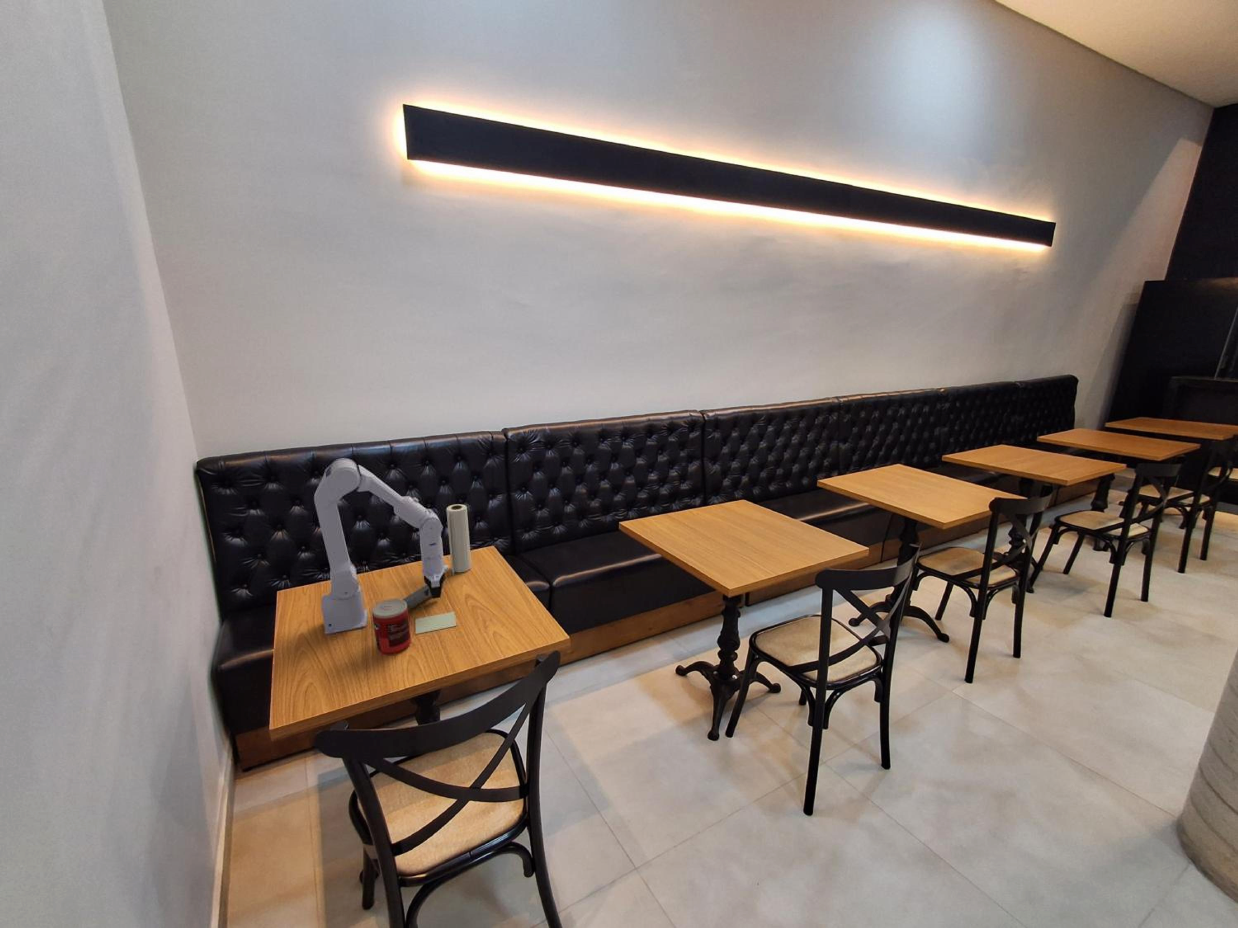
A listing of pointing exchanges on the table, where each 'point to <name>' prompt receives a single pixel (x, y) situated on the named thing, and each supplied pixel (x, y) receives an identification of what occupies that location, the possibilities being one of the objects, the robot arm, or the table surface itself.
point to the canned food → (391, 626)
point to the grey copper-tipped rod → (417, 597)
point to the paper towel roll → (458, 538)
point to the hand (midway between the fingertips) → (436, 597)
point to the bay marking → (435, 622)
